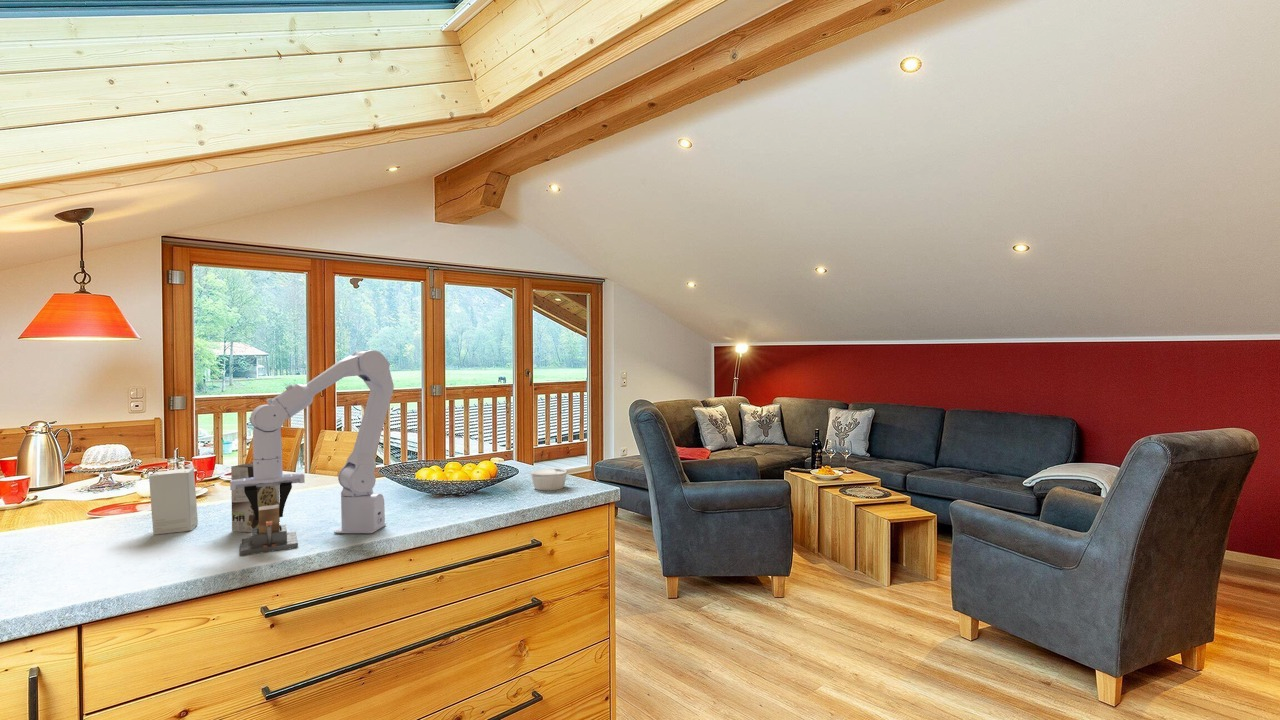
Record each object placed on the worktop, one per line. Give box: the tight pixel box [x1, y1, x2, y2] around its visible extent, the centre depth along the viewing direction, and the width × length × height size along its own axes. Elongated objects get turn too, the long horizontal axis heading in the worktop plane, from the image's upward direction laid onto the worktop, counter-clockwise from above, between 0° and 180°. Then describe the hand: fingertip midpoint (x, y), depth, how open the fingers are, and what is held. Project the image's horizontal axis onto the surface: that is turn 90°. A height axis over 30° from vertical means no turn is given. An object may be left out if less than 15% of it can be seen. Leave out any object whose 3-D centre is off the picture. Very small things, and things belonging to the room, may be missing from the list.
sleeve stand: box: [239, 521, 299, 556], centre depth 147 cm, size 11×11×6 cm
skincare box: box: [148, 467, 199, 535], centre depth 161 cm, size 8×6×15 cm
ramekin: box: [530, 468, 568, 492], centre depth 206 cm, size 11×11×5 cm
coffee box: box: [230, 461, 281, 533], centre depth 163 cm, size 9×6×16 cm
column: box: [259, 505, 280, 534], centre depth 147 cm, size 4×4×6 cm
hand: (269, 517), depth 147 cm, fingers closed on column, 4 cm apart
